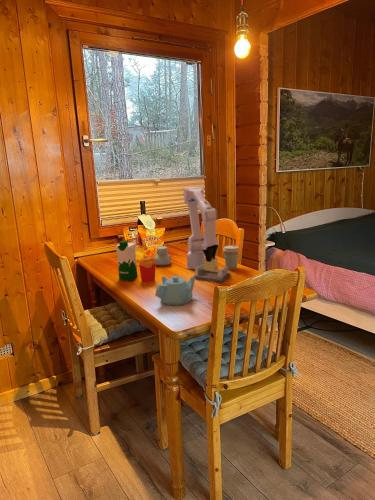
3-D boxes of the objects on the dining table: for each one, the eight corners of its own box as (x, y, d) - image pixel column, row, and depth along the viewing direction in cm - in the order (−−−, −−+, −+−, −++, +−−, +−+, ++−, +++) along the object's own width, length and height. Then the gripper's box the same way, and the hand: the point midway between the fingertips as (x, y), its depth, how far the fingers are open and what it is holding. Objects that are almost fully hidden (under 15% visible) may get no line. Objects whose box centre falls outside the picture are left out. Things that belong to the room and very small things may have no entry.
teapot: (163, 293, 166) (162, 270, 164) (196, 294, 164) (195, 271, 161) (155, 306, 152) (153, 282, 149) (190, 308, 149) (189, 283, 147)
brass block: (203, 269, 183) (203, 258, 181) (207, 267, 186) (206, 256, 184) (214, 271, 180) (214, 259, 178) (217, 269, 183) (217, 257, 181)
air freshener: (167, 267, 205) (167, 250, 202) (153, 267, 206) (152, 250, 204) (172, 261, 215) (171, 245, 213) (158, 261, 217) (157, 245, 214)
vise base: (192, 278, 184) (192, 268, 183) (202, 272, 193) (202, 262, 192) (222, 283, 177) (221, 272, 175) (230, 276, 186) (230, 265, 184)
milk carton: (116, 280, 186) (113, 242, 181) (125, 275, 194) (122, 238, 189) (132, 281, 183) (129, 243, 178) (140, 276, 191) (137, 238, 186)
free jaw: (217, 278, 179) (217, 270, 178) (224, 273, 185) (224, 266, 184) (221, 278, 178) (221, 270, 177) (227, 274, 184) (227, 266, 183)
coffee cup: (238, 270, 194) (238, 249, 191) (222, 270, 196) (222, 248, 192) (239, 266, 202) (239, 245, 199) (224, 265, 204) (224, 244, 201)
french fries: (141, 283, 180) (139, 259, 177) (139, 280, 184) (138, 257, 181) (158, 280, 183) (156, 257, 180) (155, 278, 187) (154, 255, 184)
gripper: (210, 237, 170) (211, 265, 174) (223, 231, 182) (223, 257, 186) (197, 236, 174) (198, 263, 177) (210, 230, 186) (211, 256, 189)
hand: (210, 260), depth 182 cm, fingers closed on brass block, 3 cm apart
